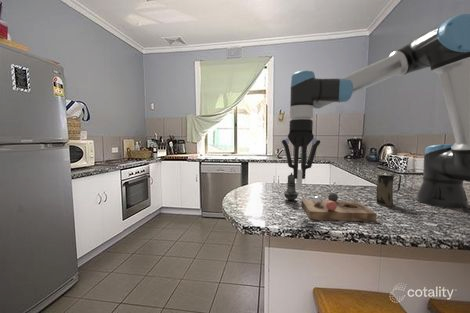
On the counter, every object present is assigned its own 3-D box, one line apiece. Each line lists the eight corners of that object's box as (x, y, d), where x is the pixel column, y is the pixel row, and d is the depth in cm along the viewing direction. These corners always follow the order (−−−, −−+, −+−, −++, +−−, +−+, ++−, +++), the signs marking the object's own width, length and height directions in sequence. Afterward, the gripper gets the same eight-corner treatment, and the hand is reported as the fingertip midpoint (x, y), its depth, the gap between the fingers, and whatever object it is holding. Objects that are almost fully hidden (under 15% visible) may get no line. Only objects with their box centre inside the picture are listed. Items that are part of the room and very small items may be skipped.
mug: (379, 205, 86) (381, 174, 85) (373, 201, 91) (374, 172, 90) (402, 206, 84) (404, 175, 83) (395, 202, 90) (396, 173, 89)
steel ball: (320, 204, 79) (320, 195, 79) (323, 206, 76) (323, 197, 76) (311, 203, 80) (311, 195, 79) (313, 206, 76) (313, 197, 76)
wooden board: (356, 207, 83) (356, 201, 83) (376, 221, 69) (376, 213, 69) (301, 206, 85) (301, 199, 85) (309, 219, 71) (309, 211, 71)
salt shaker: (299, 204, 88) (299, 173, 87) (283, 203, 89) (284, 173, 88) (297, 200, 94) (298, 171, 93) (283, 199, 95) (283, 171, 94)
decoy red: (334, 209, 73) (335, 199, 73) (338, 212, 70) (338, 202, 70) (324, 208, 74) (324, 199, 74) (327, 212, 71) (327, 202, 70)
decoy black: (335, 200, 84) (336, 192, 84) (339, 202, 81) (339, 194, 81) (327, 200, 84) (327, 191, 84) (329, 202, 81) (330, 193, 81)
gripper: (318, 120, 79) (315, 186, 81) (280, 120, 81) (278, 185, 82) (324, 118, 72) (321, 191, 74) (282, 118, 73) (280, 189, 75)
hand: (298, 188), depth 78 cm, fingers closed
